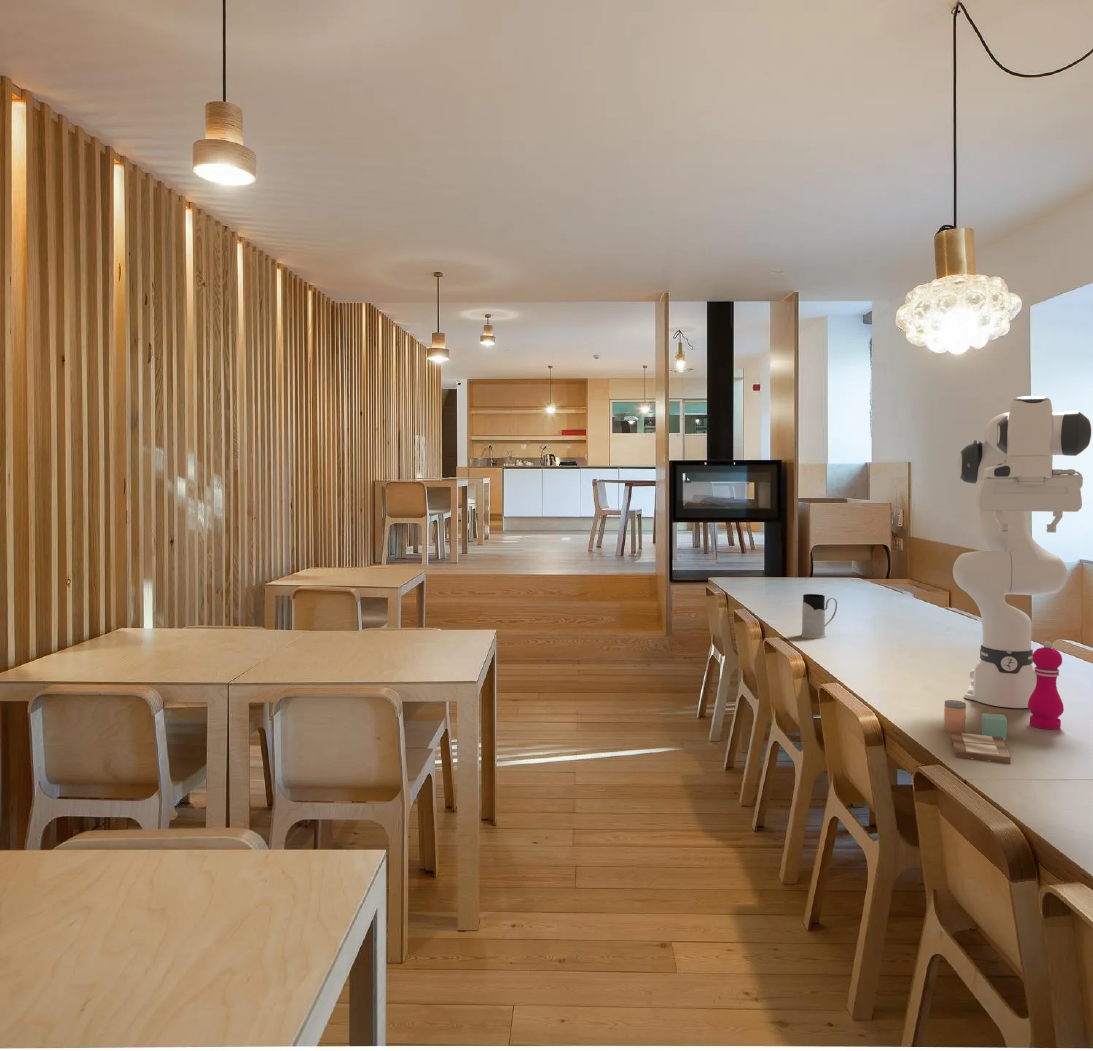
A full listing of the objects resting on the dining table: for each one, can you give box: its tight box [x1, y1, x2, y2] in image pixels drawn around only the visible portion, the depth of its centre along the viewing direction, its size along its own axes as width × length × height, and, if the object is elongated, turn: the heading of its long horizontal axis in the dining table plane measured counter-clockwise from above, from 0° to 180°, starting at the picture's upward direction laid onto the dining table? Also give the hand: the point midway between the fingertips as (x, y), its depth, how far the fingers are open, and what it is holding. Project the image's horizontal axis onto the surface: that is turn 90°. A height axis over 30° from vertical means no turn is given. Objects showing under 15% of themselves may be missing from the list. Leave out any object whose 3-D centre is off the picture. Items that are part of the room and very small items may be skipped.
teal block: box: [981, 712, 1008, 741], centre depth 189 cm, size 4×4×4 cm
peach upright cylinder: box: [943, 699, 967, 735], centre depth 192 cm, size 4×4×7 cm
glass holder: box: [800, 593, 838, 640], centre depth 306 cm, size 9×14×15 cm, turn 107°
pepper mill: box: [1027, 640, 1065, 730], centre depth 196 cm, size 7×7×20 cm
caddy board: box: [950, 732, 1012, 764], centre depth 179 cm, size 14×10×1 cm
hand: (1027, 532), depth 186 cm, fingers open, 8 cm apart
